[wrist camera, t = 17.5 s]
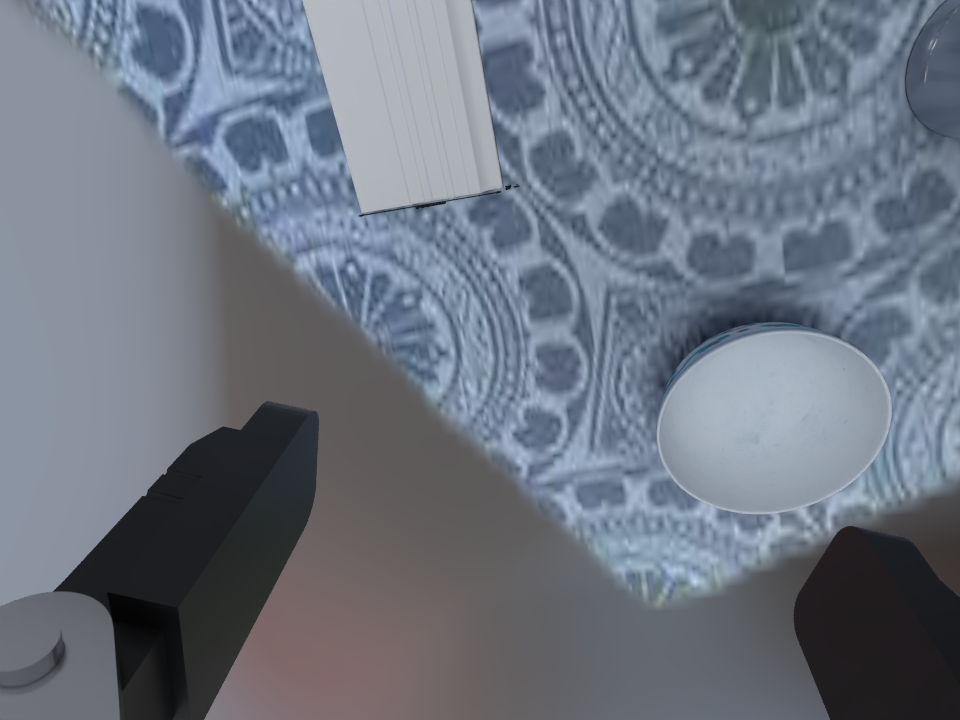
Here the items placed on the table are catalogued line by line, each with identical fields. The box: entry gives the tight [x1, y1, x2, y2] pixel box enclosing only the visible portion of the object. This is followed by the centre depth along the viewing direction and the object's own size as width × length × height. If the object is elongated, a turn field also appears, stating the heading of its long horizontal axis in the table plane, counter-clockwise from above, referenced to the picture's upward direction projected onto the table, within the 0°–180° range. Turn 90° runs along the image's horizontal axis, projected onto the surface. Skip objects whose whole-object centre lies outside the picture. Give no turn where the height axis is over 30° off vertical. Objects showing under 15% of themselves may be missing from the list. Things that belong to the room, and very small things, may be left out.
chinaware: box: [656, 322, 892, 514], centre depth 44 cm, size 15×15×8 cm
